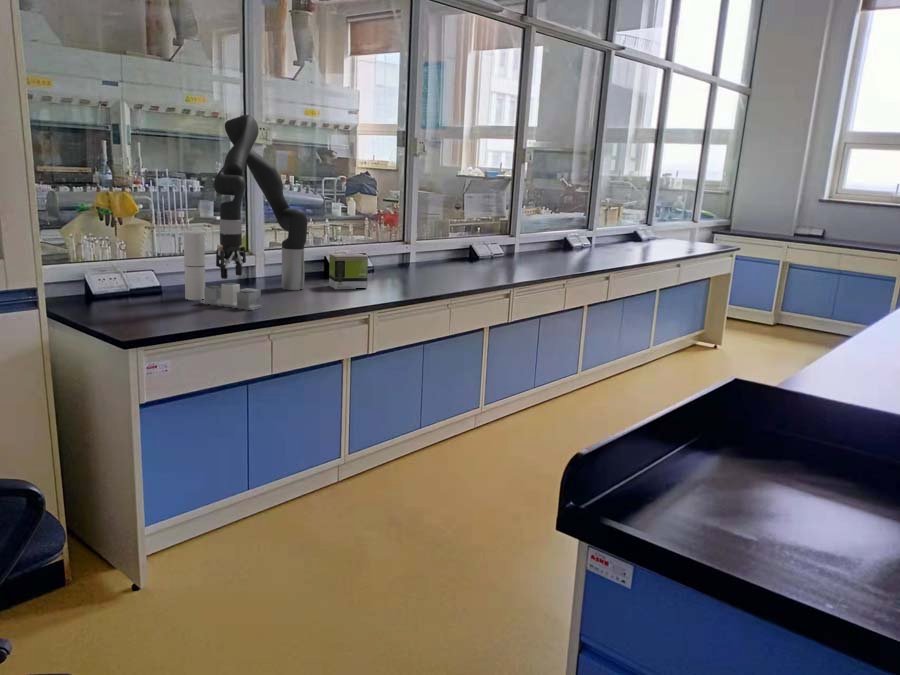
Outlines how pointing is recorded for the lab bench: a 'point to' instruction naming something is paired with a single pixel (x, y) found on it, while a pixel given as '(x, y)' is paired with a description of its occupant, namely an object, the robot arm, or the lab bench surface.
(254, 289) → the supply block
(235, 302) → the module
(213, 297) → the rail
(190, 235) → the cylindrical container
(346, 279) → the tea box
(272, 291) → the lab bench surface
